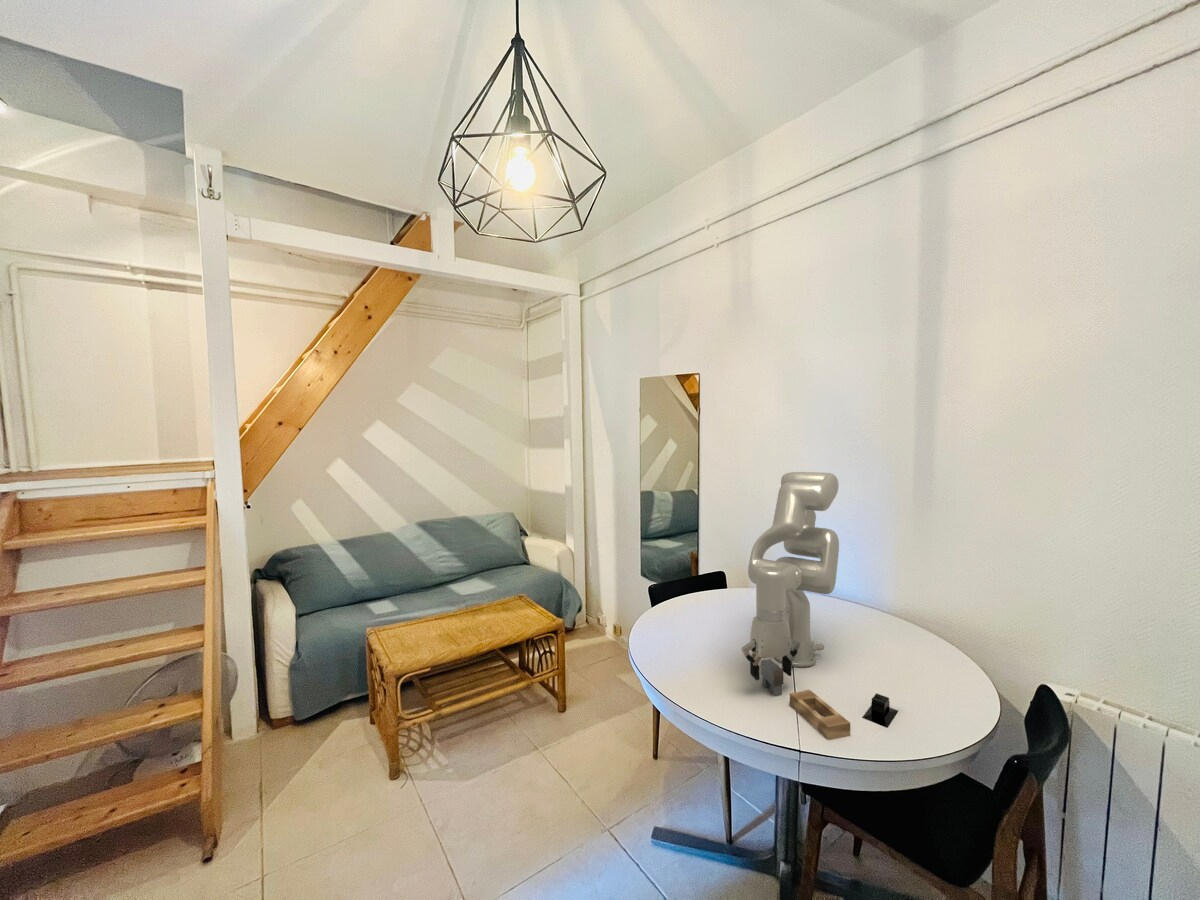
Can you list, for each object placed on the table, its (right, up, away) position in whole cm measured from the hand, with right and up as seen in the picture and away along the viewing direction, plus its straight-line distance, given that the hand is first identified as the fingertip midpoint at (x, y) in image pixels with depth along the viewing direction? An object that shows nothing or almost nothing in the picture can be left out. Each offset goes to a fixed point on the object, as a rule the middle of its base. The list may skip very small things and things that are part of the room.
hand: (771, 675), depth 123 cm
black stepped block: (+23, -5, -11) cm, 26 cm away
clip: (0, -4, +1) cm, 4 cm away
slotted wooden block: (+7, -5, -12) cm, 15 cm away
